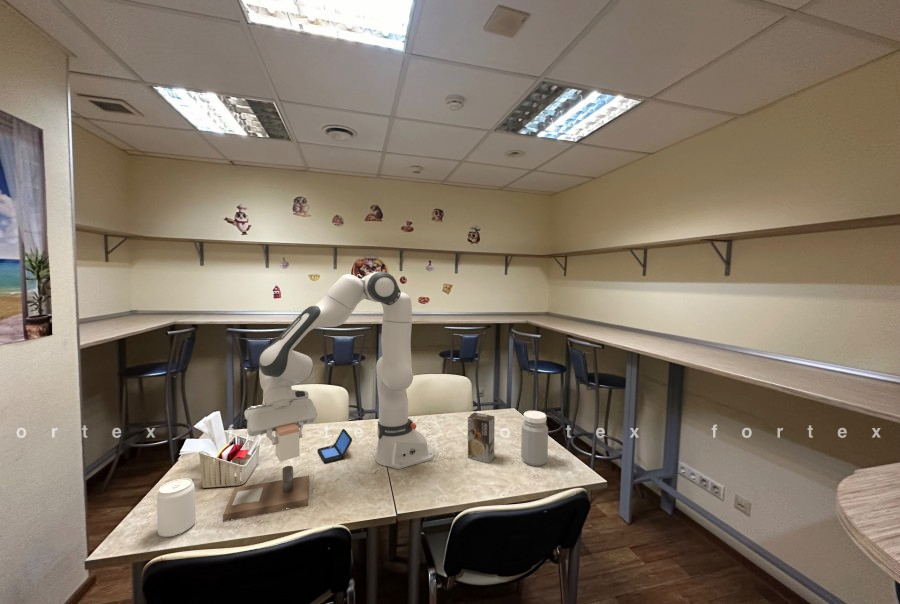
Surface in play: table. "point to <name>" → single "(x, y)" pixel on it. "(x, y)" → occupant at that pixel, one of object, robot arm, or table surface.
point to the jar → (534, 438)
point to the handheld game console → (336, 448)
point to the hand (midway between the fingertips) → (287, 440)
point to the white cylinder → (176, 507)
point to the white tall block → (287, 442)
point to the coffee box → (481, 437)
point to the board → (268, 496)
